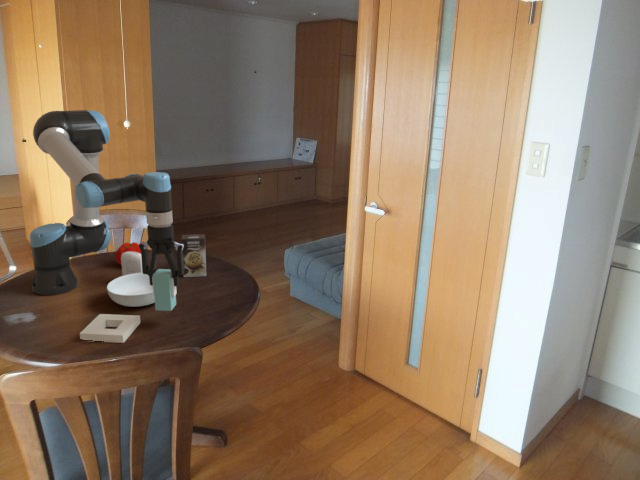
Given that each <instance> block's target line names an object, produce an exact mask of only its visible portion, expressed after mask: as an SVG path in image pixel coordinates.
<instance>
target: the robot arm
mask: <svg viewBox="0 0 640 480" xmlns="http://www.w3.org/2000/svg"><path fill="white" fill-rule="evenodd" d="M32 129H33V131H32V135H33V139H34V142H35V144H36V146H37V147H38V148H39V149H40V150H41V151H42V152H43V153H45V154H48V155H50V157H51V159H53V160H54V162H55V163H56V164H57V165H58V167H59V168H60V169H62V171H63V173H65V175H66V176H67V177H68V178H69V179H70V180H71V182H72V189H73V190H72V192H73V194H72V195H73V209H74V210H73V213H74V214H73V216H71V217H70V219H69V225H65V224H64V223H61V222H54V223H47V224H43V225H41V226H38V227H35V228H34V229H33V230H32V231H31V232H30V234H29V241H30V242H29V245H30V248H31V256H32V261H33V268H34V273H33V277H32V279H31V280H32V281H31V290H32V293H33V292H35V293H38V294H47V295H46V296H54V294H56V295H61V294H65V293H68V292H71V291H72V290H75V289H76V288H77V287H78V286H79V280H78V277H77V275H76V273H75V271H74V269H73V268H72V266H71V260H70V258H74V257H79V256H81V255H82V256H83V255H87V254H92V253H98V252H100V251H103V250H106V249H107V248H108V247H109V245H110V242H111V237H112V232H111V230H110V229H111V227H110V224H109V223H108V222H107V221H106V220H105V218H104V217H103V216H102V215H100V207H106V206H111V205H118V204H124V203H132V202H138V201H141V202H144V205H145V213H146V214H145V215H146V224H147V226H146V227H147V228H146V229H147V237H148V238H147V241H142V242H141V243H138V244H139V248H140V250H141V258H142V272H143V274H147V275H149V280H150V285H152V286H153V294H154V284H153V274H154V273H155V272H156V271H157V270H156V268H157V266H158V265H157V264H158V259H159V255H164V257H165V259H166V260H167V264H168V266H169V269H170V270H171V273H172V277H171V278H170V279H171V294H172V297H175V295H177V294H178V293H177V292H178V291H177V287H179V284H180V281H179V280H180V279H179V278H180V277H181V276H183V273H184V259H183V248H184V244H183V243H182V242H181V243H178V242H177V241H176V240H175V234H174V224H173V222H174V220H173V209H172V208H173V205H172V204H173V201H172V199H173V198H172V185H171V180H170V179H171V177H170V175H169V173H167V172H161V171H153V172H146V173H144V174H143V175H142V174H139V173H130V174H127V175H125V176H123V177H117V178H116V177H115V178H114V177H113V178H107V179H106V178H105V177H104V176H103V175H102V174H101V173H100V171H99V167H100V165H99V161H100V160H99V156H100V154H102V153H103V151H104V145H106V144H108V143H109V142H110V139H111V135H110V134H111V133H110V128H109V124H108V122H107V120H106V118H105V117H104V115H103V114H102V113H101V112H99V111H98V110H87V109H81V110H80V109H79V110H51V111H48V112H46V113H43V114H42V115H41V116H40V117H39V118H37V120H36V122H35V123H34V125H33V128H32ZM174 247H175V251H176V260H175V257H174V255H173V254H174V253H173V248H174ZM148 248H149V249H151V250H152V253H151V260H150V261H149V249H148ZM176 261H177V262H176ZM176 263H177V264H176ZM179 276H180V277H179ZM35 293H34V294H35ZM38 294H37V295H38Z"/></svg>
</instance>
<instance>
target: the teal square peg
mask: <svg viewBox="0 0 640 480" xmlns="http://www.w3.org/2000/svg"><path fill="white" fill-rule="evenodd" d="M171 277H172V273H171V270H170V268H168V269H167V268H158V269H157V270H155V273H154V274H153V284H154V297H155V303H154V308H155V311H161V312H164V311H165V312H171V311H172V310H173V309H174V308H175V306H177V296H176V295H177V294H176V295H175V297H172V294H171V279H170V278H171Z"/></svg>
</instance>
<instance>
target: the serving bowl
mask: <svg viewBox="0 0 640 480" xmlns="http://www.w3.org/2000/svg"><path fill="white" fill-rule="evenodd" d="M106 285H107V286H106V291H107V294H108V296H109V298H110V299H111V300H112V301H113V302H114V303H116V304H118V305H121V306H123V307H134V308H135V307H144V306H148V305H151V304H155V297H154V294H153V286H152V285H150V280H149V275H147V274H143V273H133V274H128V275H124V276H122V275H121V276H119V277H116V278H114V279H113V280H111V281H110V282H108V284H106Z"/></svg>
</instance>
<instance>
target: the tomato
mask: <svg viewBox="0 0 640 480" xmlns="http://www.w3.org/2000/svg"><path fill="white" fill-rule="evenodd" d="M139 244H140V243H138V242H132V243H131V242H130V243H129V242H124V243H123V244H121V245H120V246H119V247H118V248H117V250H116V252H115V261H116V263H118V265H120V266H122V265H121V255H122V253H125V252H129V251H132V252H137V253H140V254H141V250H140V248H139Z"/></svg>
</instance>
